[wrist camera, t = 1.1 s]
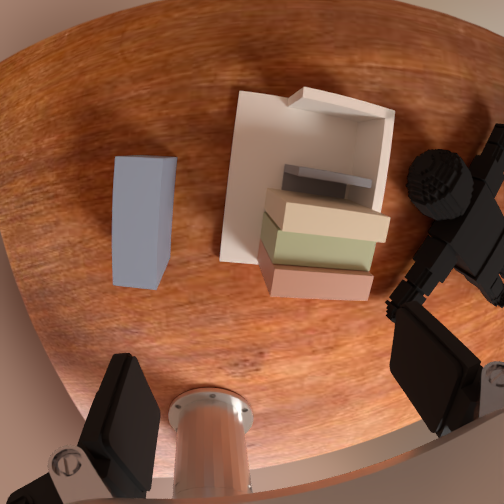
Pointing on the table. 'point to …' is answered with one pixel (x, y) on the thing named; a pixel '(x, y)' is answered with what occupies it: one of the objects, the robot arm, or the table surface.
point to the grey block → (142, 219)
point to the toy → (457, 223)
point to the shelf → (308, 192)
